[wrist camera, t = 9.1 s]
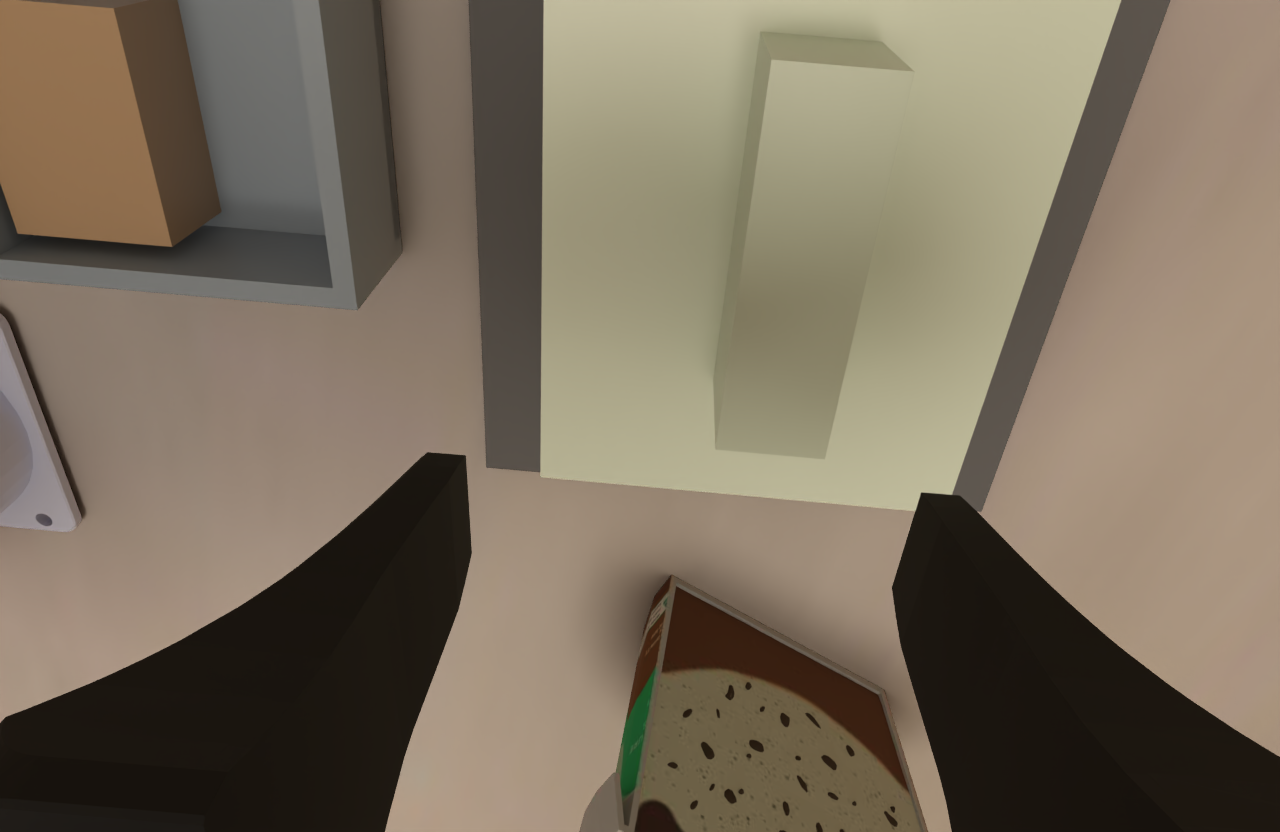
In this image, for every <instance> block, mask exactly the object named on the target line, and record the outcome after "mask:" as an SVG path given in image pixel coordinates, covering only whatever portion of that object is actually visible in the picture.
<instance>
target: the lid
mask: <svg viewBox="0 0 1280 832" xmlns="http://www.w3.org/2000/svg"><path fill="white" fill-rule="evenodd" d="M1120 3H1121V0H544V15H543V161H542V308H541V455H540V477H544V478H555V479H566V480H577V481H588V482H599V483H610V484H621V485H632V486H643V487H654V488H665V489H676V490H687V491H698V492H709V493H720V494H731V495H742V496H754V497H765V498H776V499H787V500H798V501H809V502H820V503H831V504H842V505H853V506H864V507H875V508H886V509H897V510H908V511H916V508H917V504H918V501H919V498H920V495H921V492H923V493H936V494H948V495H952V493H953V490H954V487H955V484H956V481H957V479H958V476H959V473H960V470H961V467H962V464H963V461H964V458H965V455H966V452H967V449H968V446H969V443H970V441H971V438H972V435H973V432H974V429H975V426H976V423H977V420H978V417H979V414H980V411H981V408H982V406H983V403H984V400H985V397H986V394H987V391H988V388H989V385H990V382H991V379H992V376H993V373H994V371H995V368H996V365H997V362H998V359H999V356H1000V353H1001V350H1002V347H1003V344H1004V341H1005V338H1006V335H1007V333H1008V330H1009V327H1010V324H1011V321H1012V318H1013V315H1014V312H1015V309H1016V306H1017V303H1018V300H1019V298H1020V295H1021V292H1022V289H1023V286H1024V283H1025V280H1026V277H1027V274H1028V271H1029V268H1030V265H1031V263H1032V260H1033V257H1034V254H1035V251H1036V248H1037V245H1038V242H1039V239H1040V236H1041V233H1042V230H1043V228H1044V225H1045V222H1046V219H1047V216H1048V213H1049V210H1050V207H1051V204H1052V201H1053V198H1054V195H1055V192H1056V190H1057V187H1058V184H1059V181H1060V178H1061V175H1062V172H1063V169H1064V166H1065V163H1066V160H1067V157H1068V155H1069V152H1070V149H1071V146H1072V143H1073V140H1074V137H1075V134H1076V131H1077V128H1078V125H1079V122H1080V120H1081V117H1082V114H1083V111H1084V108H1085V105H1086V102H1087V99H1088V96H1089V93H1090V90H1091V87H1092V84H1093V82H1094V79H1095V76H1096V73H1097V70H1098V67H1099V64H1100V61H1101V58H1102V55H1103V52H1104V49H1105V47H1106V44H1107V41H1108V38H1109V35H1110V32H1111V29H1112V26H1113V23H1114V20H1115V17H1116V14H1117V12H1118V9H1119V6H1120Z"/></svg>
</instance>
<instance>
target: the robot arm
mask: <svg viewBox="0 0 1280 832" xmlns="http://www.w3.org/2000/svg"><path fill="white" fill-rule="evenodd" d="M81 521H82V519H81V514H80V511H79V509H78V506H77V503H76V501H75V498H74V495H73V493H72V490H71V487H70V485H69V482H68V480H67V477H66V474H65V472H64V469H63V466H62V464H61V461H60V458H59V456H58V453H57V450H56V448H55V445H54V442H53V440H52V437H51V434H50V432H49V429H48V426H47V424H46V421H45V418H44V416H43V413H42V410H41V408H40V405H39V402H38V400H37V397H36V394H35V392H34V389H33V386H32V384H31V381H30V378H29V376H28V373H27V370H26V368H25V365H24V362H23V360H22V357H21V354H20V352H19V349H18V347H17V344H16V341H15V339H14V336H13V333H12V331H11V328H10V325H9V323H8V322H7V320H6V318H5V317H4V316H3V315H2V314H1V313H0V526H4V527H15V528H26V529H37V530H48V531H59V532H71V531H73V530H74V529H75V528H76V527H77V526H78V525H79V524H80V522H81ZM471 554H472V551H471V534H470V518H469V502H468V485H467V469H466V455H453V454H441V453H429V452H428V453H426V454H425V455H424V456H423V457H421V458H420V459H419V460H418V461H417V462H416V463H415V464H414V465H413V466H412V467H411V468H410V469H409V470H408V471H407V472H405V473H404V474H403V475H402V476H401V477H400V478H399V479H398V480H397V481H396V482H395V483H394V484H393V485H392V486H391V487H390V488H389V489H388V490H387V491H386V492H385V493H383V494H382V495H381V496H380V497H379V498H378V499H377V500H376V501H375V502H374V503H373V504H372V505H371V506H369V507H368V508H367V509H366V510H365V511H364V512H363V513H362V514H360V515H359V516H358V517H357V518H356V519H355V520H354V521H353V522H351V523H350V524H349V525H348V526H347V527H346V528H345V529H344V530H342V531H341V532H340V533H339V534H338V535H337V536H335V537H334V538H333V539H332V540H330V541H329V542H328V543H327V544H325V545H324V546H323V547H322V548H320V549H319V550H318V551H317V552H315V553H314V554H313V555H312V556H310V557H309V558H308V559H307V560H306V561H304V562H303V563H302V564H300V565H299V566H298V567H297V568H295V569H294V570H292V571H291V572H290V573H288V574H287V575H286V576H284V577H283V578H282V579H280V580H279V581H277V582H276V583H274V584H273V585H271V586H270V587H268V588H267V589H265V590H264V591H262V592H261V593H259V594H258V595H256V596H255V597H253V598H252V599H250V600H249V601H247V602H246V603H244V604H243V605H241V606H239V607H238V608H236V609H234V610H233V611H231V612H229V613H227V614H226V615H224V616H222V617H220V618H219V619H217V620H215V621H213V622H212V623H210V624H208V625H206V626H205V627H203V628H201V629H199V630H198V631H196V632H194V633H192V634H191V635H189V636H187V637H186V638H184V639H182V640H180V641H178V642H176V643H174V644H172V645H171V646H169V647H167V648H165V649H163V650H161V651H159V652H157V653H155V654H153V655H151V656H149V657H147V658H145V659H143V660H141V661H138V662H136V663H134V664H132V665H130V666H128V667H126V668H123V669H121V670H119V671H117V672H115V673H113V674H111V675H108V676H106V677H104V678H102V679H99V680H97V681H95V682H93V683H90V684H88V685H85V686H83V687H80V688H78V689H76V690H73V691H71V692H68V693H66V694H63V695H61V696H58V697H56V698H53V699H51V700H48V701H46V702H43V703H41V704H38V705H36V706H33V707H31V708H28V709H26V710H23V711H21V712H18V713H15V714H13V715H10V716H7V717H5V718H4V720H3V721H2V722H1V723H0V832H385V829H386V825H387V820H388V816H389V813H390V809H391V805H392V801H393V798H394V794H395V790H396V786H397V782H398V779H399V775H400V771H401V767H402V764H403V760H404V756H405V753H406V750H407V747H408V744H409V741H410V738H411V735H412V732H413V729H414V726H415V724H416V721H417V718H418V716H419V713H420V711H421V708H422V705H423V703H424V700H425V697H426V695H427V692H428V689H429V687H430V684H431V681H432V679H433V676H434V674H435V671H436V668H437V666H438V663H439V660H440V658H441V655H442V652H443V650H444V647H445V644H446V642H447V639H448V636H449V634H450V631H451V628H452V626H453V623H454V620H455V617H456V615H457V612H458V609H459V605H460V601H461V597H462V593H463V589H464V585H465V580H466V576H467V572H468V567H469V563H470V558H471ZM892 591H893V598H894V605H895V613H896V620H897V626H898V631H899V637H900V643H901V648H902V651H903V655H904V658H905V662H906V665H907V669H908V672H909V676H910V679H911V682H912V686H913V689H914V693H915V696H916V699H917V703H918V706H919V709H920V712H921V716H922V719H923V722H924V726H925V729H926V732H927V736H928V739H929V742H930V746H931V749H932V752H933V755H934V759H935V762H936V765H937V769H938V772H939V776H940V780H941V783H942V787H943V791H944V795H945V799H946V803H947V808H948V814H949V819H950V824H951V829H952V832H1280V757H1279V756H1277V755H1275V754H1274V753H1272V752H1270V751H1269V750H1267V749H1265V748H1264V747H1262V746H1261V745H1259V744H1257V743H1256V742H1254V741H1252V740H1251V739H1249V738H1248V737H1246V736H1244V735H1243V734H1241V733H1239V732H1238V731H1236V730H1235V729H1233V728H1232V727H1230V726H1229V725H1227V724H1226V723H1224V722H1223V721H1221V720H1220V719H1218V718H1217V717H1215V716H1214V715H1212V714H1211V713H1209V712H1208V711H1206V710H1205V709H1203V708H1202V707H1200V706H1199V705H1197V704H1196V703H1194V702H1193V701H1191V700H1190V699H1188V698H1187V697H1185V696H1184V695H1183V694H1181V693H1180V692H1178V691H1177V690H1176V689H1174V688H1173V687H1171V686H1170V685H1169V684H1167V683H1166V682H1164V681H1163V680H1162V679H1161V678H1159V677H1158V676H1157V675H1155V674H1154V673H1153V672H1151V671H1150V670H1149V669H1147V668H1146V667H1145V666H1144V665H1142V664H1141V663H1140V662H1138V661H1137V660H1136V659H1134V658H1133V657H1132V656H1130V655H1129V654H1128V653H1127V652H1125V651H1124V650H1123V649H1122V648H1120V647H1119V646H1118V645H1117V644H1116V643H1114V642H1113V641H1112V640H1111V639H1109V638H1108V637H1107V636H1106V635H1105V634H1103V633H1102V632H1101V631H1100V630H1099V629H1098V628H1097V627H1096V626H1094V625H1093V624H1092V623H1091V622H1090V621H1089V620H1088V619H1086V618H1085V617H1084V616H1083V615H1082V614H1081V613H1080V612H1078V611H1077V610H1076V609H1075V608H1074V607H1073V606H1072V605H1071V604H1070V603H1068V602H1067V601H1066V600H1065V599H1064V598H1063V597H1062V596H1061V595H1060V594H1059V593H1058V592H1057V591H1056V590H1054V589H1053V588H1052V587H1051V586H1050V585H1049V584H1048V583H1047V582H1046V581H1045V580H1044V579H1043V578H1042V577H1041V576H1040V575H1039V574H1038V573H1037V572H1036V571H1035V570H1034V569H1033V568H1032V567H1031V566H1030V565H1029V564H1028V563H1027V562H1026V561H1025V560H1024V559H1023V558H1022V557H1021V556H1020V555H1019V554H1018V553H1017V552H1016V551H1015V550H1014V549H1013V548H1012V547H1011V546H1010V545H1009V544H1008V543H1007V542H1006V541H1005V540H1004V539H1003V538H1002V537H1001V536H1000V535H999V534H998V533H997V532H996V531H995V530H994V529H993V528H992V527H991V526H990V525H989V524H988V522H987V521H986V520H985V519H984V518H983V517H982V516H981V515H980V514H979V513H978V512H977V511H976V510H975V509H974V508H973V507H972V506H971V505H970V504H969V503H968V502H967V501H965V500H964V499H963V498H962V497H961V496H960V495H948V494H936V493H923V492H921V495H920V498H919V501H918V504H917V508H916V511H915V514H914V518H913V521H912V524H911V527H910V531H909V534H908V537H907V540H906V544H905V547H904V550H903V553H902V557H901V560H900V563H899V567H898V570H897V573H896V576H895V580H894V583H893V586H892Z"/></svg>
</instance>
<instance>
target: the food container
mask: <svg viewBox="0 0 1280 832" xmlns="http://www.w3.org/2000/svg"><path fill="white" fill-rule="evenodd" d="M579 832H928V830H927V827H926V823H925V820H924V817H923V814H922V810H921V807H920V804H919V801H918V797H917V794H916V791H915V788H914V785H913V781H912V778H911V775H910V772H909V768H908V765H907V762H906V759H905V756H904V752H903V749H902V746H901V743H900V739H899V736H898V733H897V730H896V726H895V723H894V720H893V717H892V714H891V710H890V707H889V704H888V701H887V697H886V694H885V691H884V690H883V689H882V688H880V687H878V686H876V685H874V684H872V683H870V682H869V681H867V680H865V679H863V678H861V677H859V676H858V675H856V674H854V673H852V672H850V671H848V670H846V669H845V668H843V667H841V666H839V665H837V664H835V663H834V662H832V661H830V660H828V659H826V658H824V657H822V656H821V655H819V654H817V653H815V652H813V651H811V650H809V649H808V648H806V647H804V646H802V645H800V644H798V643H797V642H795V641H793V640H791V639H789V638H787V637H785V636H784V635H782V634H780V633H778V632H776V631H774V630H773V629H771V628H769V627H767V626H765V625H763V624H761V623H760V622H758V621H756V620H754V619H752V618H750V617H748V616H747V615H745V614H743V613H741V612H739V611H737V610H736V609H734V608H732V607H730V606H728V605H726V604H724V603H723V602H721V601H719V600H717V599H715V598H713V597H712V596H710V595H708V594H706V593H704V592H702V591H700V590H699V589H697V588H695V587H693V586H691V585H689V584H688V583H686V582H684V581H682V580H680V579H678V578H676V577H675V576H673V575H671V576H670V578H669V579H668V580H667V581H666V583H665V584H664V585H663V586H662V588H661V589H660V590H659V591H658V593H657V594H656V595H655V597H654V600H653V603H652V606H651V609H650V612H649V615H648V618H647V621H646V624H645V627H644V631H643V637H642V642H641V647H640V652H639V657H638V662H637V667H636V672H635V677H634V682H633V687H632V692H631V697H630V703H629V708H628V713H627V718H626V723H625V728H624V733H623V738H622V743H621V748H620V753H619V758H618V763H617V768H616V773H613V774H612V775H611V776H610V777H609V778H608V779H607V780H606V782H605V783H604V784H603V785H602V786H601V787H600V788H599V789H598V790H597V792H596V793H595V795H594V797H593V799H592V800H591V802H590V804H589V805H588V807H587V809H586V811H585V813H584V817H583V820H582V824H581V827H580V831H579Z"/></svg>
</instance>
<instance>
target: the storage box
mask: <svg viewBox="0 0 1280 832" xmlns="http://www.w3.org/2000/svg"><path fill="white" fill-rule="evenodd" d="M401 254H402V244H401V233H400V222H399V211H398V200H397V189H396V178H395V167H394V155H393V144H392V133H391V122H390V111H389V100H388V89H387V78H386V66H385V55H384V44H383V33H382V22H381V11H380V0H0V279H5V280H17V281H28V282H40V283H51V284H63V285H74V286H85V287H97V288H108V289H120V290H131V291H143V292H154V293H165V294H177V295H188V296H200V297H211V298H223V299H234V300H246V301H257V302H268V303H280V304H291V305H303V306H314V307H326V308H337V309H349V310H358V309H359V308H360V306H361V305H362V304H363V302H364V301H365V300H366V299H367V297H368V296H369V295H370V294H371V292H372V291H373V290H374V288H375V287H376V286H377V285H378V283H379V282H380V281H381V279H382V278H383V277H384V276H385V274H386V273H387V272H388V270H389V269H390V268H391V267H392V265H393V264H394V263H395V261H396V260H397V259H398V258H399V256H400V255H401Z"/></svg>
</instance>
